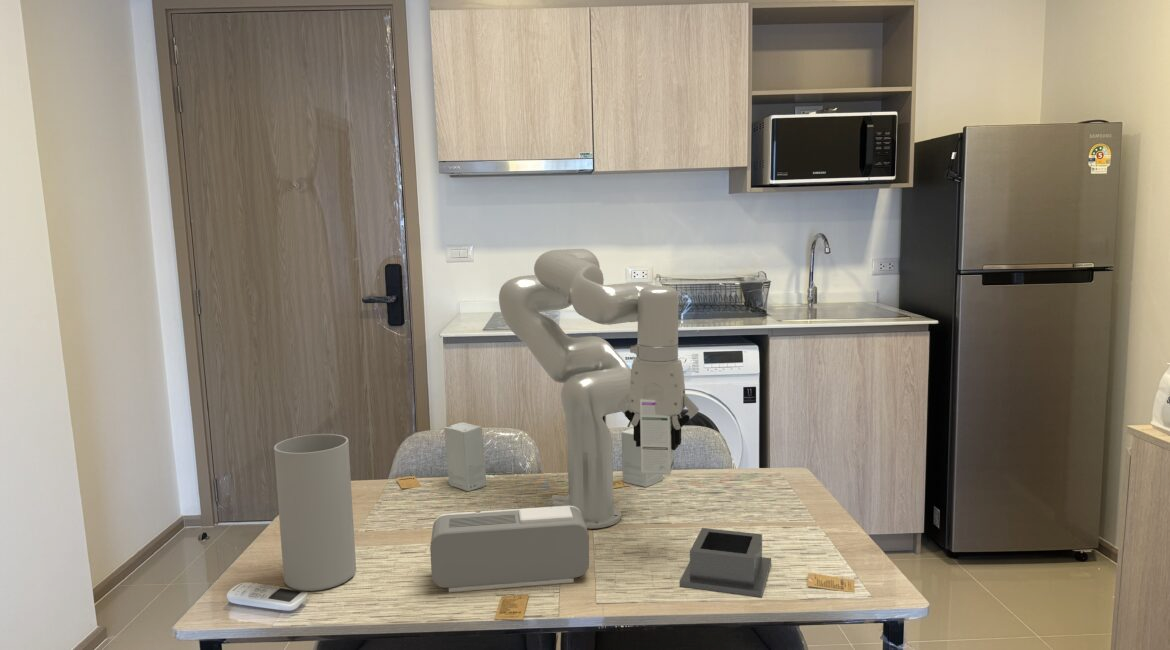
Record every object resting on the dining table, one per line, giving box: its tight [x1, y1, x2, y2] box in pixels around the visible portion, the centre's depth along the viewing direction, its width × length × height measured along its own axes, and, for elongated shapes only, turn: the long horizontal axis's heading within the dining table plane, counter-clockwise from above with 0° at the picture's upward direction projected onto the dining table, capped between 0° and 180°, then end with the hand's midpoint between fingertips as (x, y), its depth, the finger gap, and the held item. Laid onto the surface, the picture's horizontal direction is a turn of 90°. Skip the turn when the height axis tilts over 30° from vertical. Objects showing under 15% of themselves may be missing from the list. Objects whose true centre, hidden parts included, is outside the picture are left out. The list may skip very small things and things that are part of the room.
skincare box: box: [444, 421, 487, 492], centre depth 195 cm, size 8×6×15 cm
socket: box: [679, 527, 772, 598], centre depth 144 cm, size 14×14×6 cm
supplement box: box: [620, 427, 664, 488], centre depth 196 cm, size 7×7×13 cm
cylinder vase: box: [273, 433, 357, 592], centre depth 145 cm, size 12×12×25 cm
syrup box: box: [640, 398, 675, 476], centre depth 153 cm, size 6×6×14 cm
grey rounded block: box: [429, 506, 590, 593], centre depth 145 cm, size 27×9×12 cm, turn 98°
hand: (657, 445), depth 153 cm, fingers closed on syrup box, 6 cm apart
